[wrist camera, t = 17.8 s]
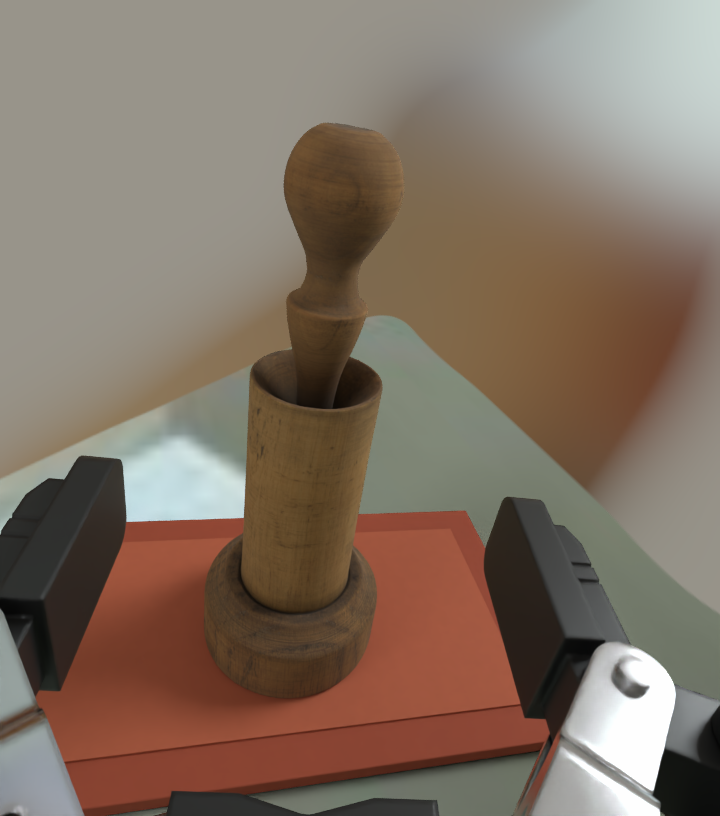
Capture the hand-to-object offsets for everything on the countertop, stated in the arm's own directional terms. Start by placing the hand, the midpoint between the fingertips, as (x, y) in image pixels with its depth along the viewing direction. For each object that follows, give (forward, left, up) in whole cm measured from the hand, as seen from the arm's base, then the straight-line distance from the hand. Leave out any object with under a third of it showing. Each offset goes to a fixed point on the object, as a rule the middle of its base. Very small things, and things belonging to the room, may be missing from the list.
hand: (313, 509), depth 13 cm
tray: (-1, -6, -12) cm, 13 cm away
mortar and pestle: (-1, -6, -11) cm, 13 cm away
